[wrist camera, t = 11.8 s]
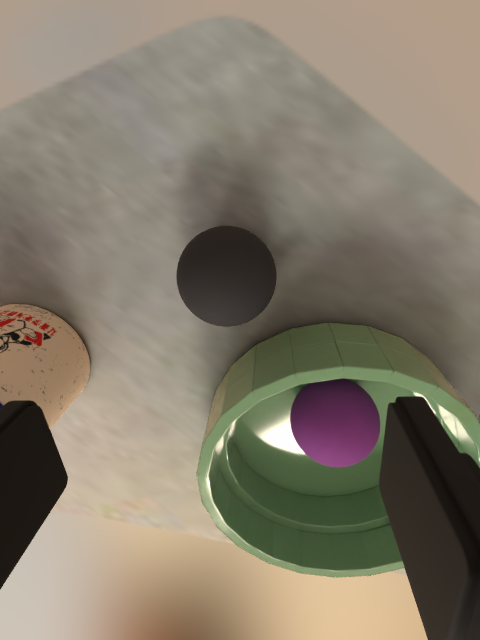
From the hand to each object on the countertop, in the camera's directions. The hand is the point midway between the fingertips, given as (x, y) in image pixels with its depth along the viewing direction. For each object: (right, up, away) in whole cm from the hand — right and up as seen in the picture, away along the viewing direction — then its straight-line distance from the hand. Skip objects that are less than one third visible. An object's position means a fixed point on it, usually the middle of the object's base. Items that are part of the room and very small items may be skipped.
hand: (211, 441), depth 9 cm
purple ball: (+7, -2, +15) cm, 17 cm away
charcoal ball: (0, +7, +13) cm, 14 cm away
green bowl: (+7, -5, +17) cm, 19 cm away
